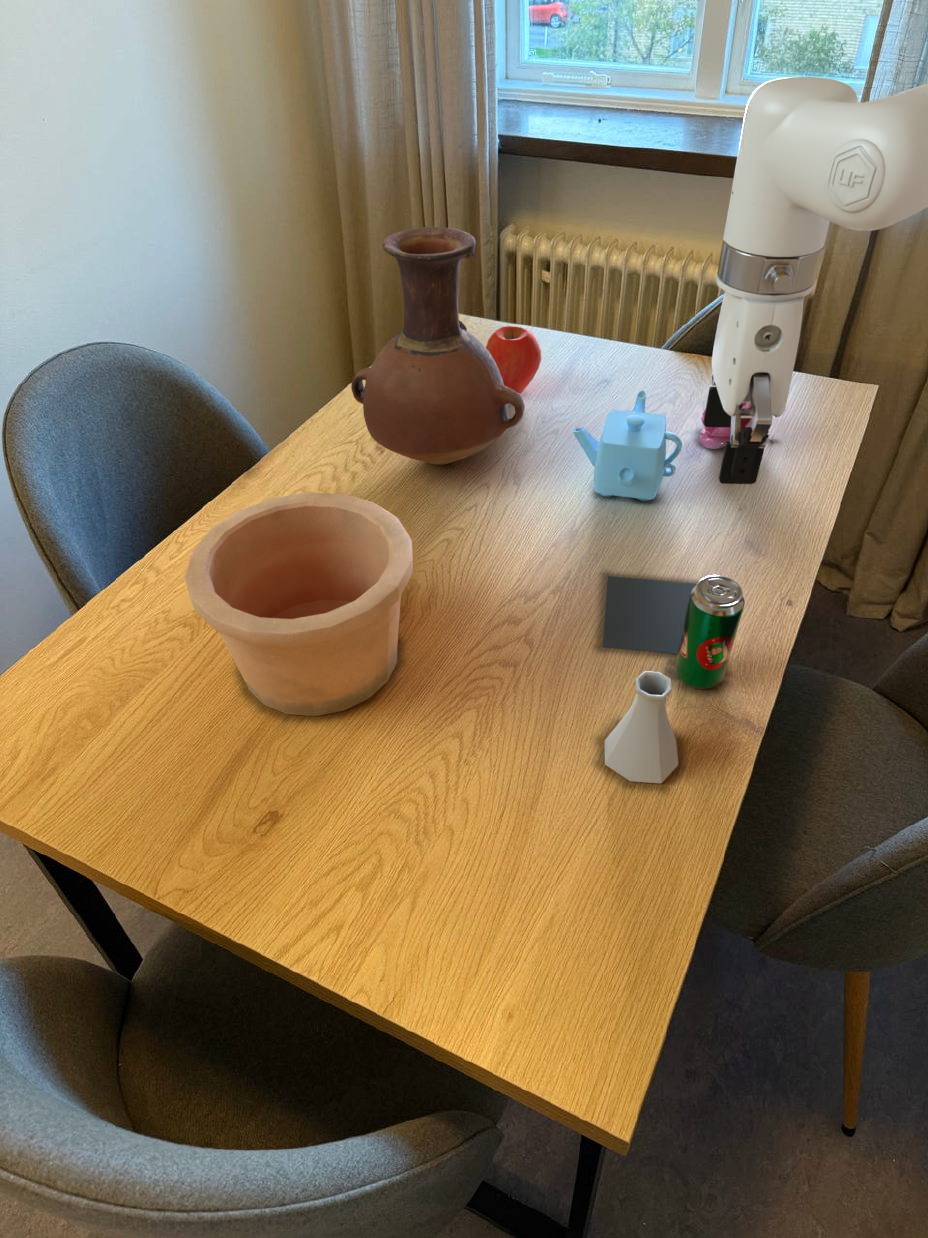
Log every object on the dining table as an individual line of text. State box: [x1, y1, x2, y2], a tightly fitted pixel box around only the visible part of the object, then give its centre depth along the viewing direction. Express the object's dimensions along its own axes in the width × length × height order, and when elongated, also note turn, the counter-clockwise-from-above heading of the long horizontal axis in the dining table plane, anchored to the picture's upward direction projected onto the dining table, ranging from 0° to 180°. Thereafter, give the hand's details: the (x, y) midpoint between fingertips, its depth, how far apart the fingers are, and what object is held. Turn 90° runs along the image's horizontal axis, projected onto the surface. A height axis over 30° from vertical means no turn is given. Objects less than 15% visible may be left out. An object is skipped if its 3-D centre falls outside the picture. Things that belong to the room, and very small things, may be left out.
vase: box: [350, 226, 525, 466], centre depth 109 cm, size 25×20×30 cm
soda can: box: [674, 574, 746, 690], centre depth 83 cm, size 5×5×12 cm
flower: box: [698, 403, 774, 450], centre depth 118 cm, size 11×10×10 cm
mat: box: [602, 575, 697, 655], centre depth 94 cm, size 12×12×1 cm
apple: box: [485, 325, 542, 395], centre depth 129 cm, size 9×8×11 cm
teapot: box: [572, 390, 683, 502], centre depth 110 cm, size 18×14×10 cm
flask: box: [604, 670, 679, 784], centre depth 76 cm, size 7×7×10 cm
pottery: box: [184, 492, 414, 717], centre depth 86 cm, size 22×22×14 cm
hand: (727, 452), depth 77 cm, fingers open, 9 cm apart
